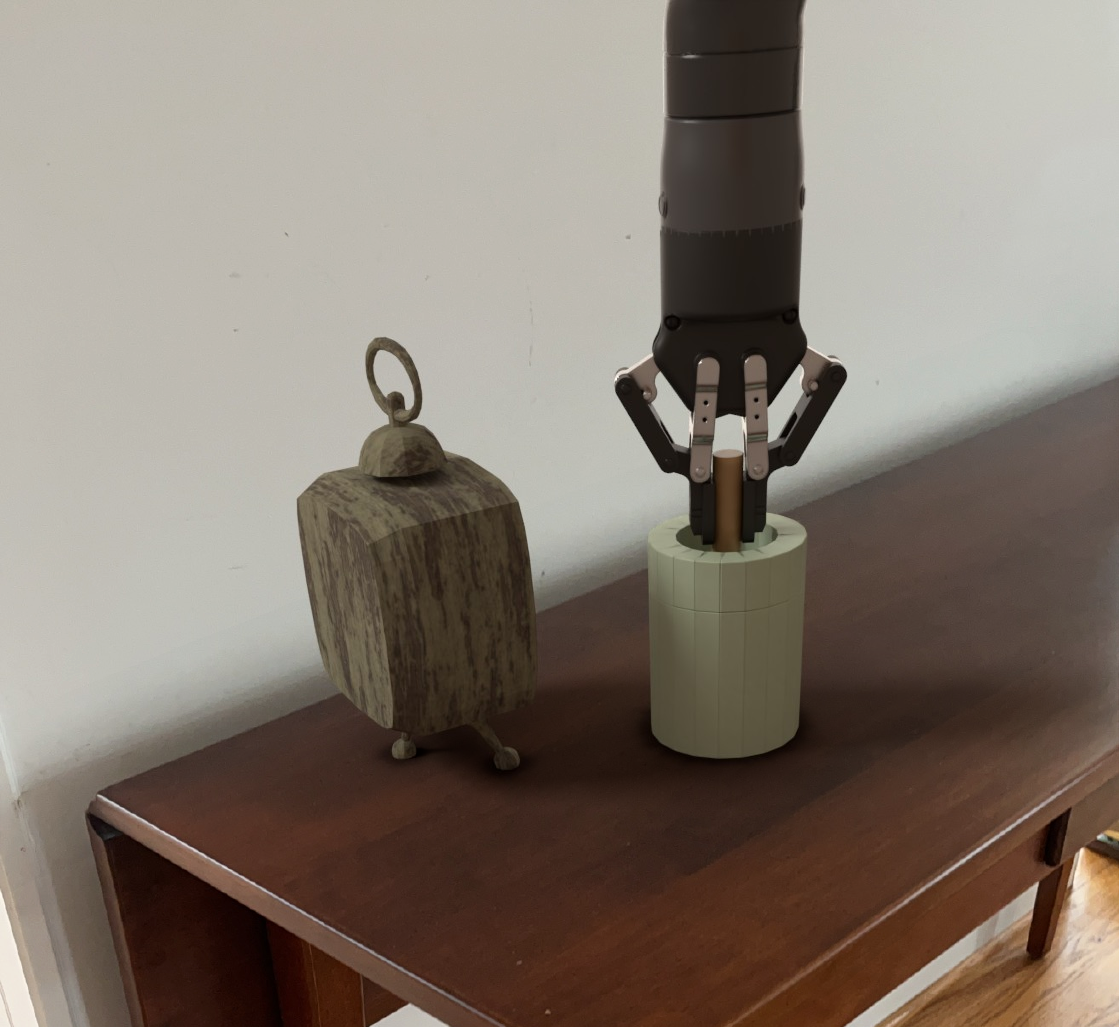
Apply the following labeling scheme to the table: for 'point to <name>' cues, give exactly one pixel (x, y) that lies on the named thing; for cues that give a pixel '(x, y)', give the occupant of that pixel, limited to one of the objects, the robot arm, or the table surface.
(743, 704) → the cylindrical container
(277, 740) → the table surface
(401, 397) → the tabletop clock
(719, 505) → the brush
